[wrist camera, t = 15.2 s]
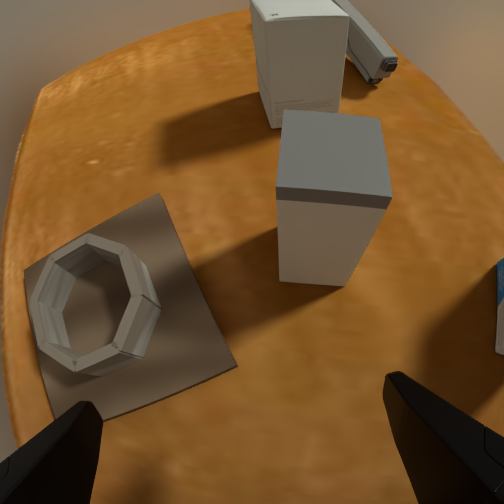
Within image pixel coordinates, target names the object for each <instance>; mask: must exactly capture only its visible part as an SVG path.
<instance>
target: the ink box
mask: <svg viewBox="0 0 504 504" xmlns="http://www.w3.org/2000/svg"><path fill="white" fill-rule="evenodd" d="M497 293H498V310H497V332H496V346H495V352H496V353H499V354H502V355H504V258H503V259H501V260H500V261H499V262H497Z"/></svg>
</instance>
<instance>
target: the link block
mask: <svg viewBox="0 0 504 504" xmlns="http://www.w3.org/2000/svg"><path fill="white" fill-rule="evenodd" d="M391 199H392V189H391V182H390V175H389V169H388V162H387V156H386V150H385V145H384V139H383V134H382V129H381V124H380V119H379V118H372V117H364V116H356V115H348V114H338V113H328V112H316V111H302V110H284V111H283V122H282V132H281V142H280V152H279V161H278V171H277V181H276V201H277V226H278V255H279V281H281V282H293V283H305V284H318V285H331V286H345V285H346V283H347V282H348V280H349V278H350V277H351V275H352V273H353V271H354V269H355V268H356V266H357V264H358V262H359V260H360V259H361V257H362V255H363V253H364V251H365V250H366V248H367V246H368V244H369V242H370V240H371V238H372V236H373V235H374V233H375V231H376V229H377V227H378V225H379V223H380V221H381V219H382V217H383V215H384V213H385V211H386V209H387V207H388V205H389V203H390V201H391Z"/></svg>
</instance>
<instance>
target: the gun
mask: <svg viewBox="0 0 504 504" xmlns="http://www.w3.org/2000/svg"><path fill="white" fill-rule="evenodd" d="M331 1H332V2H334V3H335V4H336V5H337V6H338V7H340V8H341V9H342V10H343V11H344V12H345V13H347V14H348V15H349V26H348V37H347V46H346V53H347V55H348V56H349V57H350V59H351V60H352V61H353V63H354V64H355V66H356V67H357V68H358V70H359V71H360V73H361V74H362V75H363V77H364V78H365V80H366V81H367V83H378V82H380V81H382V79H383V78H387V77H390V75H391V72H393V71H395V69H396V67H397V65H398V64H397V60H398V57H397V55H396V54H395V53H394V52H393V50H392V49H391V48H390V47H389V45H388V44H387V43H386V42H385V41H384V40H383V38H382V37H381V36H380V35H379V34H378V33H377V31H376V30H375V29H374V28H373V27H372V26H371V25H370V24H369V23H368V22H367V20H366V19H365V18H364V17H363V16H362V15H361V14H360V13H359V12H358V11H357V10H356V9H355V8H354V7H353V6H352V5H351V4H350V3H349V2H348V1H347V0H331Z"/></svg>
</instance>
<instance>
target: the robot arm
mask: <svg viewBox="0 0 504 504" xmlns="http://www.w3.org/2000/svg"><path fill="white" fill-rule="evenodd" d="M383 401H384V404H385V408H386V411H387V415H388V419H389V422H390V426H391V430H392V434H393V437H394V441H395V443H396V446H397V449H398V451H399V454H400V456H401V459H402V461H403V464H404V466H405V469H406V471H407V474H408V477H409V479H410V482H411V485H412V487H413V490H414V493H415V495H416V498H417V501H418V503H419V504H504V437H503V436H501V435H499V434H498V433H496V432H494V431H493V430H491V429H489V428H488V427H486V426H485V427H484V425H483V424H481V423H480V422H478V421H477V420H475V419H473V418H472V417H470V416H469V415H467V414H466V413H464V412H462V411H461V410H459V409H458V408H456V407H455V406H453V405H452V404H450V403H448V402H447V401H445V400H444V399H442V398H441V397H439V396H438V395H436V394H435V393H433V392H431V391H430V390H428V389H427V388H425V387H424V386H422V385H421V384H419V383H418V382H416V381H415V380H413V379H411V378H410V377H408V376H407V375H405V374H404V373H402V372H401V371H395V372H392V373H388V374H387V375H386V376H385V382H384V388H383ZM102 428H103V419H102V417H101V415H100V413H99V412H98V410H97V409H96V407H95V405H94V404H93V403H92V402H91V401H85V400H81V401H79V402H77V403H76V404H75V405H73V406H72V407H71V408H70V409H68V410H67V411H66V412H65V413H63V414H62V415H61V416H60V417H58V418H57V419H56V420H54V421H53V422H52V423H51V424H49V425H48V426H47V427H46V428H44V429H43V430H42V431H41V432H39V433H38V434H37V435H35V436H34V437H33V438H32V439H30V440H29V441H28V442H27V443H25V444H24V445H23V446H21V447H20V448H19V449H18V450H16V451H15V452H14V453H13V454H11V455H10V457H7V458H6V459H5V460H4V461H2V462H1V463H0V504H90V499H91V494H92V489H93V484H94V479H95V475H96V470H97V465H98V459H99V452H100V444H101V436H102Z"/></svg>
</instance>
